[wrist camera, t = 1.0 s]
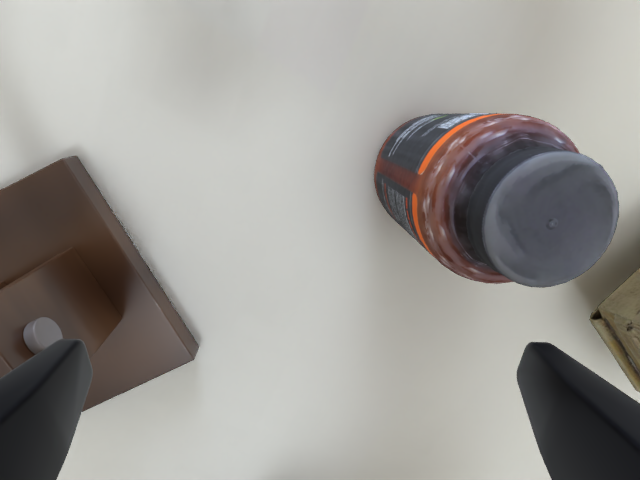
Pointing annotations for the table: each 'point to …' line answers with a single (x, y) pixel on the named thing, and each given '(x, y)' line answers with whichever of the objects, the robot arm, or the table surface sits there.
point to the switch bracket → (81, 284)
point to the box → (622, 326)
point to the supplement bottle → (498, 197)
